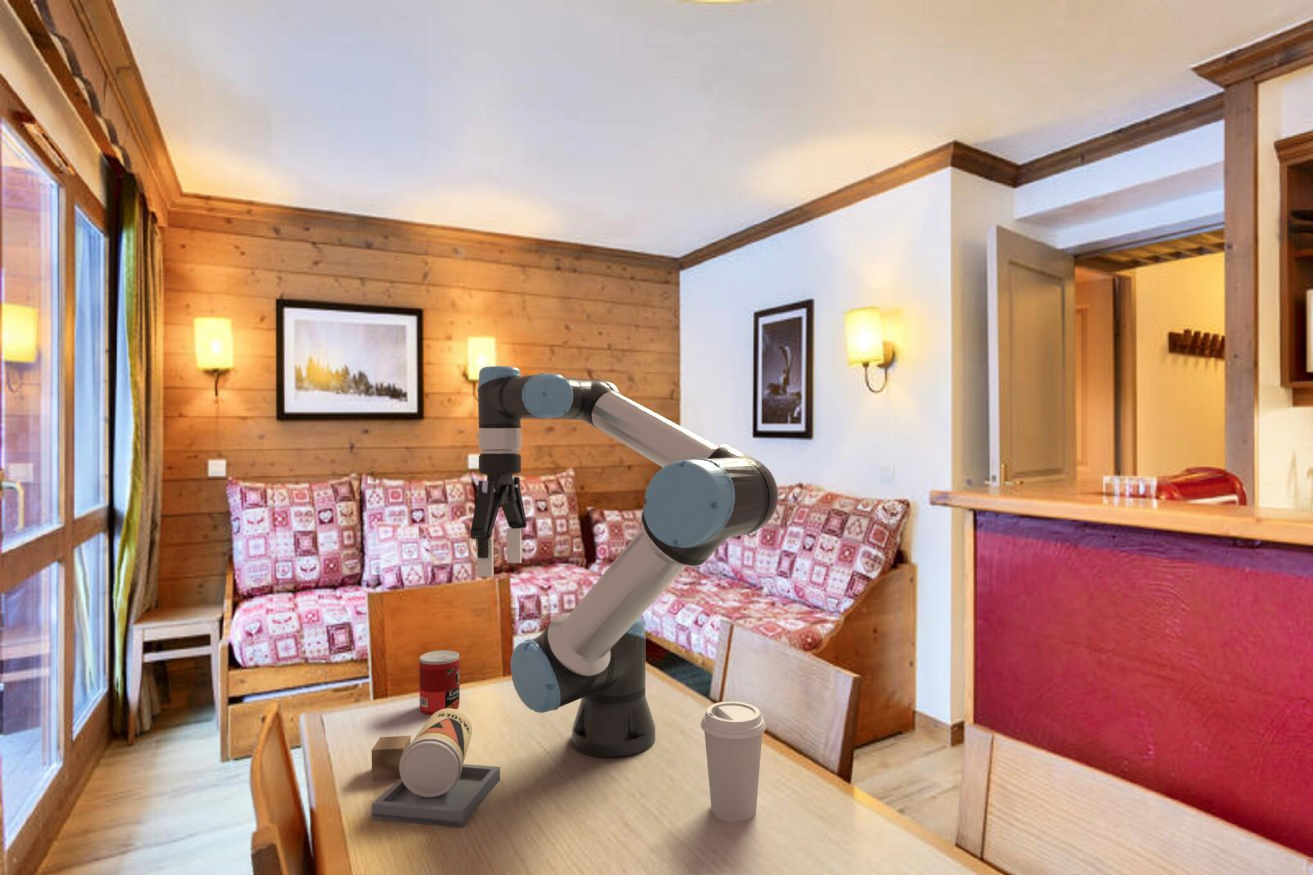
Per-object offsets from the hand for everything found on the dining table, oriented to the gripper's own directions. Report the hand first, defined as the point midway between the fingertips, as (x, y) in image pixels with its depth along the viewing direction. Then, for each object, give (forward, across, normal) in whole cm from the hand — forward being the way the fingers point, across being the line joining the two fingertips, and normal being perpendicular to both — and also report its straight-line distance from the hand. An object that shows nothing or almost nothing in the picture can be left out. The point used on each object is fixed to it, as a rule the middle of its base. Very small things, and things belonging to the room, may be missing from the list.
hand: (500, 569), depth 128 cm
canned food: (+32, -14, -19) cm, 40 cm away
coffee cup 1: (+25, +10, -5) cm, 28 cm away
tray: (+32, +20, -2) cm, 38 cm away
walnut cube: (+32, +13, -14) cm, 37 cm away
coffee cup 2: (+32, +17, +43) cm, 56 cm away
